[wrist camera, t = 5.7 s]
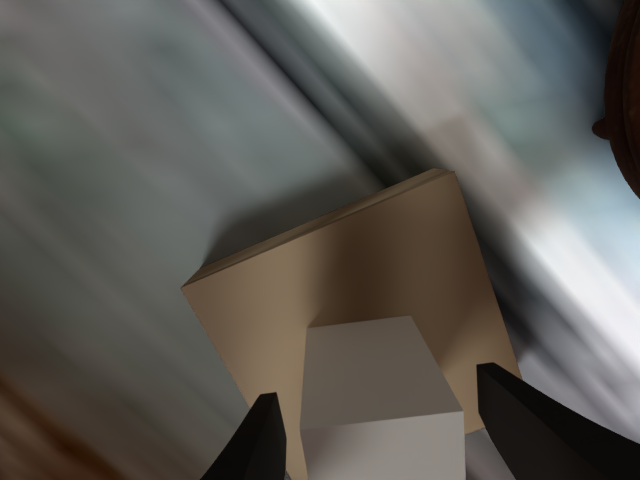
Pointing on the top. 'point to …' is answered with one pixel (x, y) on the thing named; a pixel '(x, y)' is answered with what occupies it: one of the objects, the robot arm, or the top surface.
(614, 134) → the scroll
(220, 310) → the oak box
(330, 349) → the ceramic block
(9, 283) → the top surface
